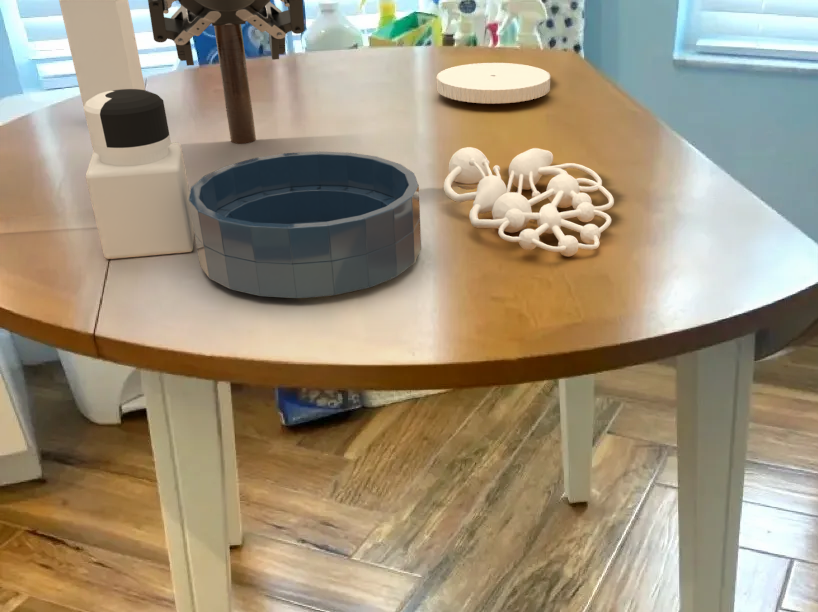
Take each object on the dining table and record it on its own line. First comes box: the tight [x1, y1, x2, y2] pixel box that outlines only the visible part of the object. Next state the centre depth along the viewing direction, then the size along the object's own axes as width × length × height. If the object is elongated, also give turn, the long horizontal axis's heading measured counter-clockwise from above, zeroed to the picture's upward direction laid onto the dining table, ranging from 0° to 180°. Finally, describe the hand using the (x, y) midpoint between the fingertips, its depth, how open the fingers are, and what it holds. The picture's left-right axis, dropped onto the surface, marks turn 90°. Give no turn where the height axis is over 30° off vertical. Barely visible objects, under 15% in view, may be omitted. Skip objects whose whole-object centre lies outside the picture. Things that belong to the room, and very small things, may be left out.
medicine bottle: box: [83, 89, 195, 260], centre depth 78 cm, size 7×7×12 cm
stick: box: [213, 24, 257, 145], centre depth 97 cm, size 4×4×13 cm
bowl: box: [189, 150, 422, 299], centre depth 76 cm, size 18×18×6 cm
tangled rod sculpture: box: [443, 146, 615, 258], centre depth 84 cm, size 19×14×4 cm
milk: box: [58, 0, 146, 108], centre depth 107 cm, size 6×6×22 cm
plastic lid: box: [436, 62, 551, 105], centre depth 119 cm, size 14×14×2 cm
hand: (231, 54), depth 96 cm, fingers open, 8 cm apart
